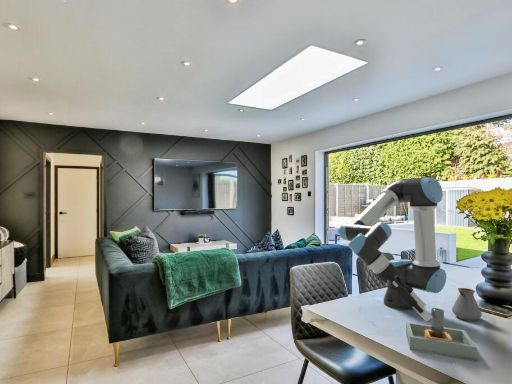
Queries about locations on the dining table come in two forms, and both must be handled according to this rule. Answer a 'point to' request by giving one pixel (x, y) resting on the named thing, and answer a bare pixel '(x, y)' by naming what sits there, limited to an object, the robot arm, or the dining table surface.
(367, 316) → the dining table surface
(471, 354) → the walled box
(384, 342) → the dining table surface
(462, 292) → the coffee pot
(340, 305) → the dining table surface
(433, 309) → the peg
